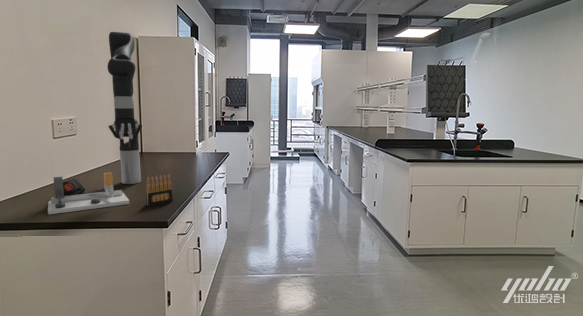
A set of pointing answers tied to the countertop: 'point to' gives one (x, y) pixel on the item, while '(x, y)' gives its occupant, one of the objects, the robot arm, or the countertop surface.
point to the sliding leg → (108, 183)
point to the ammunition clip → (158, 190)
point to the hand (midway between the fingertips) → (126, 147)
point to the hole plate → (87, 204)
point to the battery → (72, 187)
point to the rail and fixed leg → (61, 198)
